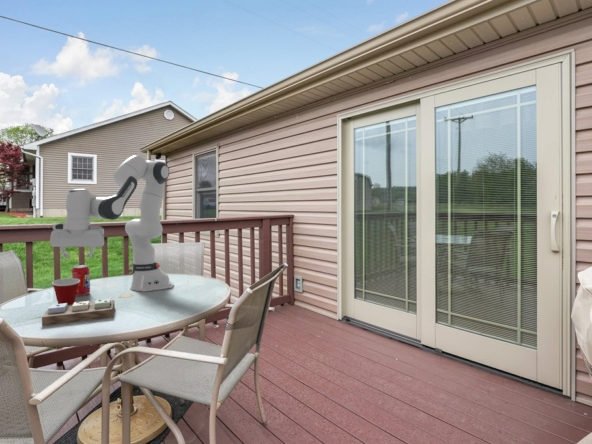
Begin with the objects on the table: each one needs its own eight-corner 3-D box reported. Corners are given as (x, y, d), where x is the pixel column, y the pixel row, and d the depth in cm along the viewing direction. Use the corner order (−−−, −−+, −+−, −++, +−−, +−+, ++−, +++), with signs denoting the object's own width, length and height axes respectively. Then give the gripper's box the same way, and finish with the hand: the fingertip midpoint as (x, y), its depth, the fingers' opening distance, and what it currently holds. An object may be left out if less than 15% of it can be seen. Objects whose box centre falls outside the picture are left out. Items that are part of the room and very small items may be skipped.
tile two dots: (110, 305, 147) (110, 298, 147) (109, 308, 142) (109, 301, 142) (96, 306, 144) (96, 299, 144) (94, 310, 140) (94, 303, 139)
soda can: (68, 295, 170) (68, 266, 169) (84, 291, 177) (83, 264, 176) (77, 297, 167) (76, 268, 166) (93, 293, 174) (92, 265, 173)
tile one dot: (67, 310, 140) (67, 302, 140) (64, 314, 135) (64, 306, 135) (51, 311, 138) (51, 304, 137) (48, 315, 133) (48, 308, 132)
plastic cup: (59, 311, 145) (58, 284, 144) (47, 307, 151) (47, 281, 150) (85, 305, 154) (84, 280, 154) (74, 301, 160) (73, 277, 159)
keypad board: (114, 307, 151) (114, 300, 151) (112, 317, 139) (112, 309, 139) (50, 314, 141) (50, 306, 141) (42, 326, 128) (41, 317, 128)
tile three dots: (89, 307, 143) (89, 300, 143) (87, 311, 138) (87, 303, 138) (74, 309, 141) (74, 301, 141) (72, 313, 136) (72, 305, 136)
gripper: (106, 225, 149) (106, 256, 150) (55, 224, 145) (55, 256, 145) (101, 226, 143) (101, 258, 144) (48, 225, 139) (47, 258, 139)
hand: (77, 257), depth 144 cm, fingers open, 8 cm apart
